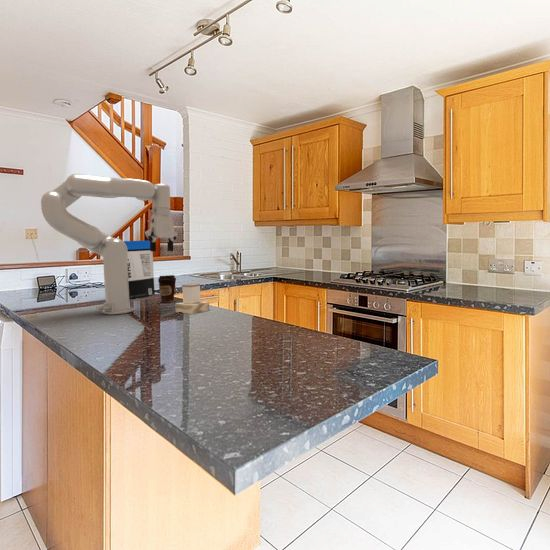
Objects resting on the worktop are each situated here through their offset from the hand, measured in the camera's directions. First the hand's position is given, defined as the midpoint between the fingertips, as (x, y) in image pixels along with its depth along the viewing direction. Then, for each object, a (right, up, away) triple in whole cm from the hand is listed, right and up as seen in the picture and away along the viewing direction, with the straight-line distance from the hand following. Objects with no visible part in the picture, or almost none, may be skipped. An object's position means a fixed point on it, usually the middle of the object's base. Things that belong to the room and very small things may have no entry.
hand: (162, 251), depth 185 cm
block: (+15, -27, -9) cm, 32 cm away
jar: (+15, -22, -9) cm, 28 cm away
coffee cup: (-2, -24, +18) cm, 30 cm away
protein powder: (-23, -23, +36) cm, 49 cm away
